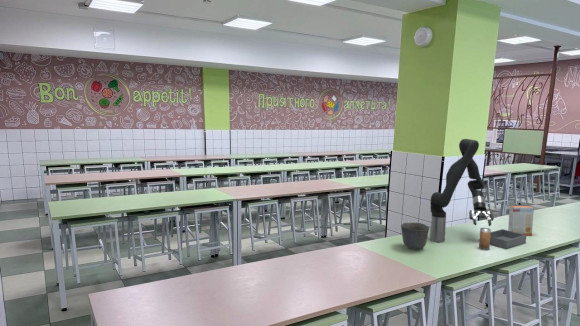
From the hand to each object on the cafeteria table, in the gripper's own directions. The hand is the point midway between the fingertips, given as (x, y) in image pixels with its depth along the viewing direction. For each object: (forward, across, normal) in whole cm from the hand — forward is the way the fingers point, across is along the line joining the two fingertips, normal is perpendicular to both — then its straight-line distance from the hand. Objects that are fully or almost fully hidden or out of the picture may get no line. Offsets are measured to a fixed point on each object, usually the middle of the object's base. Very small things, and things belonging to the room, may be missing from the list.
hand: (482, 225), depth 235 cm
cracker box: (-13, +33, +32) cm, 48 cm away
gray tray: (+3, +16, +16) cm, 23 cm away
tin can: (+15, 0, +5) cm, 15 cm away
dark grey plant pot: (+23, -44, -4) cm, 50 cm away
